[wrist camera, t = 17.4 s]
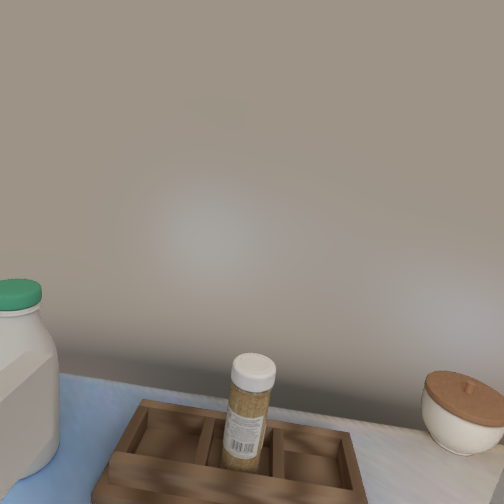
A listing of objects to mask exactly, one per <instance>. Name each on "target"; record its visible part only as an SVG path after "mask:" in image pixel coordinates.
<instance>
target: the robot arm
mask: <svg viewBox="0 0 504 504" xmlns="http://www.w3.org/2000/svg"><path fill="white" fill-rule="evenodd" d="M53 435H54V431H53V355H51V354H45V353H39V352H32V351H26V352H24V353H23V354H22V355H20V356H19V357H18V358H17V359H15V360H14V361H13V362H12V363H10V364H9V365H8V366H7V367H5V368H4V369H3V370H2V371H0V502H1V501H2V499H3V498H4V497H5V496H6V494H7V493H8V492H9V491H10V489H11V488H12V487H13V485H14V484H15V483H16V482H17V480H18V479H19V478H20V477H21V475H22V474H23V473H24V472H25V470H26V469H27V468H28V466H29V465H30V464H31V463H32V461H33V460H34V459H35V458H36V456H37V455H38V454H39V453H40V451H41V450H42V449H43V447H44V446H45V445H46V444H47V442H48V441H49V440H50V439H51V437H52V436H53ZM489 504H504V469H503V471H502V474H501V476H500V479H499V481H498V483H497V486H496V488H495V491H494V493H493V496H492V498H491V501H490V503H489Z"/></svg>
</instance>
